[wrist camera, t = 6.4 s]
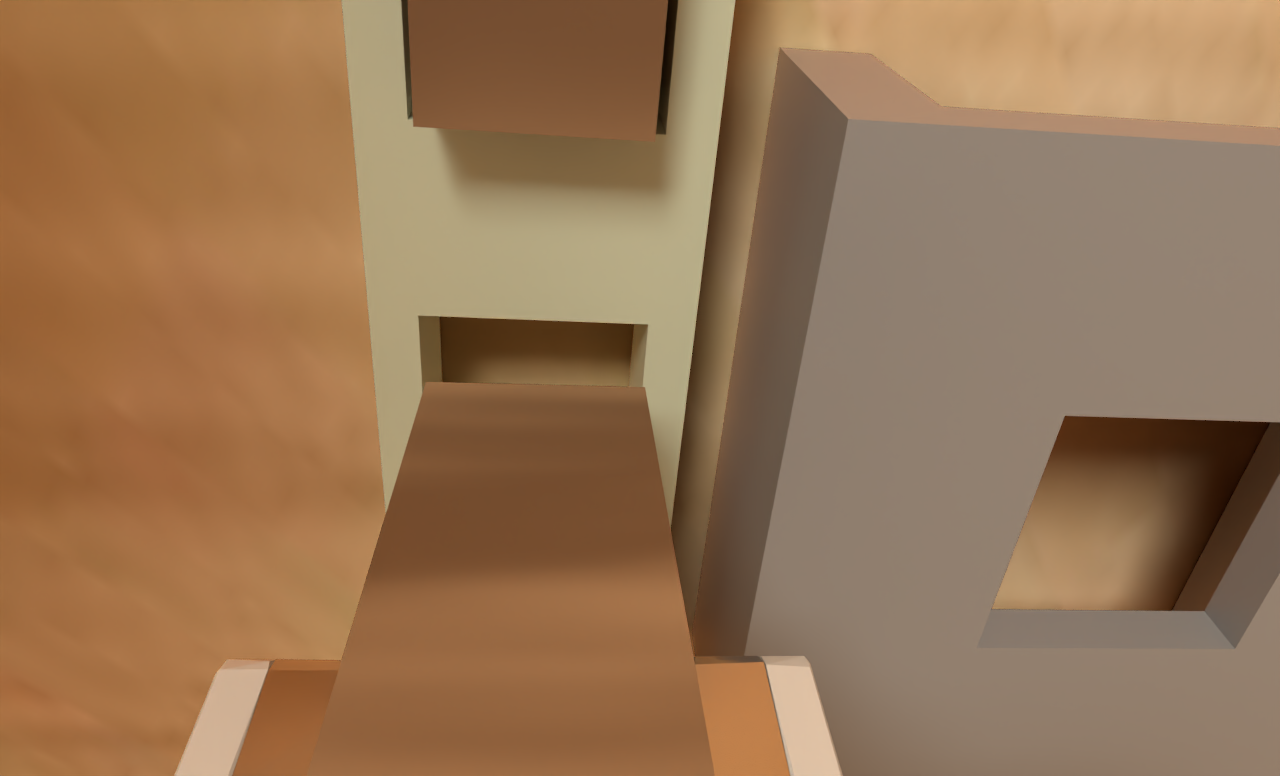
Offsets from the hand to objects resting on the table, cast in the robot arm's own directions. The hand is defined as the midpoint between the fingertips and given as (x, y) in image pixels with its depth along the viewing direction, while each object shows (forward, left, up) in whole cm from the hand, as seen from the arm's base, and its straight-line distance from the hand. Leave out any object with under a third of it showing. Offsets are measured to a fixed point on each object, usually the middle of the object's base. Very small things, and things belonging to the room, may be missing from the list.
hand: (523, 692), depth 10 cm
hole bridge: (+2, +11, -9) cm, 14 cm away
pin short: (-6, 0, -9) cm, 11 cm away
